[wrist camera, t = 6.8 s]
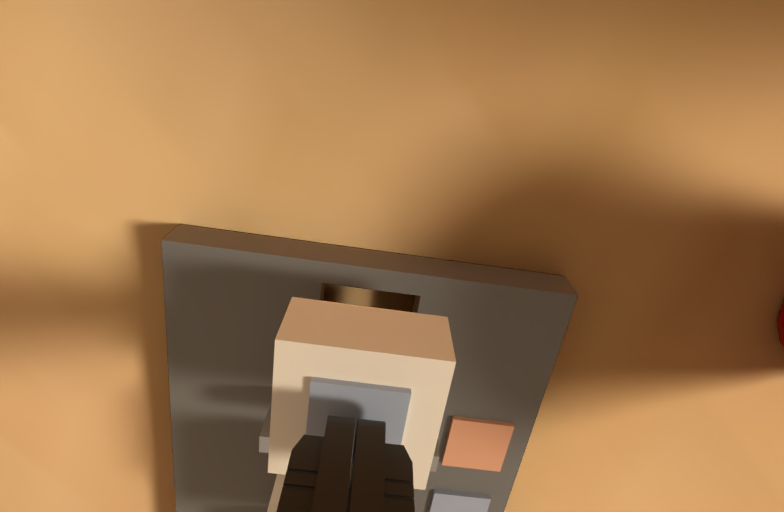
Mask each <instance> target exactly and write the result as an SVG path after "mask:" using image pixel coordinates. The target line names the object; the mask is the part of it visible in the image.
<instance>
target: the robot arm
mask: <svg viewBox="0 0 784 512" xmlns="http://www.w3.org/2000/svg"><path fill="white" fill-rule="evenodd" d="M354 430H355V418H348V417H339V416H330V415H328V418H327V423H326V429H325V435H324V437H323V436H314V435H305V434H304V435H303V436H302V438H301V439H300V440H299V441H298V443H297V444H296V445H295V446H294V448H293V449H292V451H291V455H290V459H289V463H288V467H287V472H286V475H285V479H284V483H283V487H282V491H281V495H280V499H279V503H278V507H277V511H276V512H415V505H414V485H413V462H412V460H411V458H410V457H409V455H408V453H407V451H406V449H405V447H404V445H397V444H388V443H385V436H386V423H385V422H384V421H375V420H367V419H358V421H357V427H356V434H355V441H354V448H353V440H354ZM352 450H353V454H352ZM351 460H352V461H351Z"/></svg>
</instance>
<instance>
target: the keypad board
mask: <svg viewBox="0 0 784 512" xmlns="http://www.w3.org/2000/svg"><path fill="white" fill-rule="evenodd" d="M161 243H162V261H163V280H164V298H165V317H166V335H167V354H168V372H169V391H170V409H171V428H172V446H173V465H174V483H175V502H176V512H267V509H268V506H269V502H270V498H271V495H272V491H273V487H274V484H275V480H276V476H277V474H275V473H268V457H269V439H270V421H271V402H272V384H273V366H274V347H275V338H276V336H277V333H278V331H279V328H280V326H281V323H282V321H283V318H284V316H285V313H286V311H287V308H288V306H289V303H290V301H291V298H292V297H298V298H305V299H313V300H321V301H324V292H325V283H326V284H333V285H341V286H348V287H356V288H364V289H371V290H379V291H387V292H394V293H402V294H409V295H415V300H414V305H413V310H412V312H414V313H422V314H429V315H437V316H445V317H448V321H449V327H450V332H451V337H452V343H453V348H454V353H455V358H456V365H455V369H454V373H453V377H452V381H451V386H450V390H449V394H448V398H447V402H446V406H445V410H444V414H443V419H442V423H441V427H440V431H439V435H438V439H437V443H436V448H435V452H434V456H433V460H432V464H431V468H430V472H429V477H428V481H427V485H426V489H425V490H420V489H414V505H415V512H504V510H505V507H506V504H507V501H508V498H509V495H510V492H511V490H512V487H513V484H514V481H515V478H516V475H517V472H518V469H519V466H520V463H521V460H522V457H523V455H524V452H525V449H526V446H527V443H528V440H529V437H530V434H531V431H532V428H533V425H534V423H535V420H536V417H537V414H538V411H539V408H540V405H541V402H542V399H543V396H544V393H545V391H546V388H547V385H548V382H549V379H550V376H551V373H552V370H553V367H554V364H555V361H556V358H557V356H558V353H559V350H560V347H561V344H562V341H563V338H564V335H565V332H566V329H567V326H568V324H569V321H570V318H571V315H572V312H573V309H574V306H575V303H576V300H577V297H578V295H577V293H576V292H575V291H574V289H573V288H572V286H571V285H570V284H569V282H568V281H567V279H566V278H565V277H564V276H560V275H553V274H545V273H538V272H530V271H523V270H516V269H508V268H501V267H493V266H486V265H479V264H471V263H464V262H457V261H449V260H442V259H434V258H427V257H420V256H412V255H405V254H397V253H390V252H383V251H375V250H368V249H360V248H353V247H346V246H338V245H331V244H324V243H316V242H309V241H301V240H294V239H287V238H279V237H272V236H264V235H257V234H250V233H242V232H235V231H228V230H220V229H213V228H205V227H198V226H191V225H183V224H180V225H178V226H177V227H176V228H175V229H174V230H173V231H171V232H170V233H169V234H168V235H167V236H166V237H164V238H163V239H162V240H161Z"/></svg>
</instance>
